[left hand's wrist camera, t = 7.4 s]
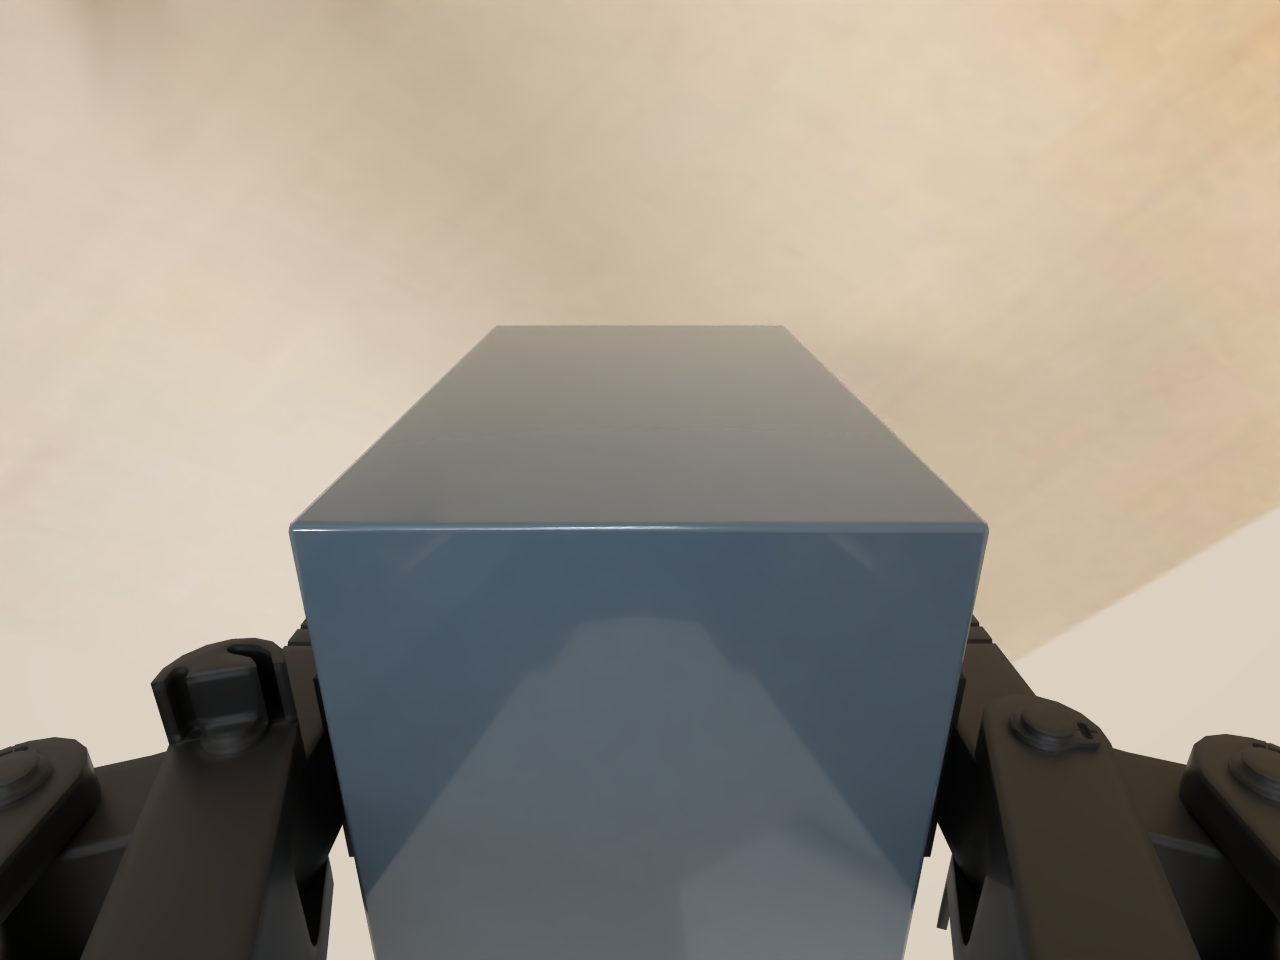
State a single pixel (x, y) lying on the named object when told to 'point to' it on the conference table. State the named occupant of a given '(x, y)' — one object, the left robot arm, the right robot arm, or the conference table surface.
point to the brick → (638, 653)
